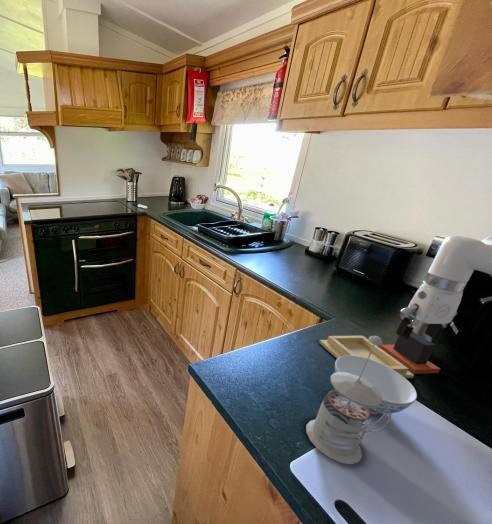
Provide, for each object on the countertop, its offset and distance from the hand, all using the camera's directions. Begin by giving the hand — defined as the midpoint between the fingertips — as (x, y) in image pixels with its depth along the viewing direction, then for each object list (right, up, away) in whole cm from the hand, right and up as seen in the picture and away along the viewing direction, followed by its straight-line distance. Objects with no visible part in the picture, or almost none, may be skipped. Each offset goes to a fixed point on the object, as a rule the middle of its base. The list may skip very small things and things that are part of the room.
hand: (416, 336), depth 83 cm
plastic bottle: (+8, -6, +9) cm, 14 cm away
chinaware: (-26, -12, -14) cm, 32 cm away
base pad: (-14, -7, +2) cm, 16 cm away
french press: (-39, -15, -24) cm, 49 cm away
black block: (0, -8, +3) cm, 8 cm away
